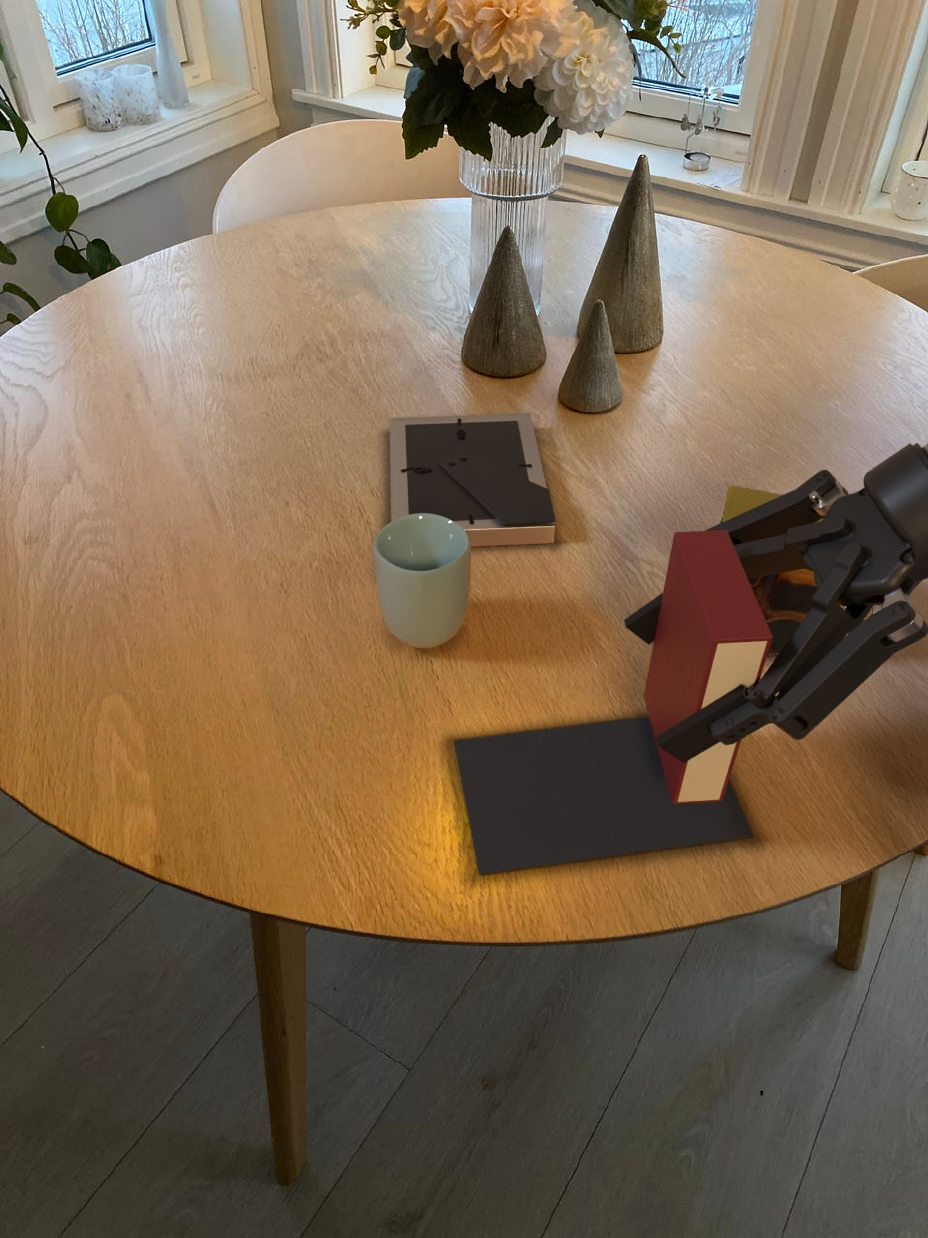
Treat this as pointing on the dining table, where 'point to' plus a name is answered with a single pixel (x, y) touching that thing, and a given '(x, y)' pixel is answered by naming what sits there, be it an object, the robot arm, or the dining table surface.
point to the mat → (580, 798)
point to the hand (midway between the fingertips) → (652, 688)
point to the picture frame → (473, 476)
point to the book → (703, 653)
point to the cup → (423, 578)
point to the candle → (774, 578)
